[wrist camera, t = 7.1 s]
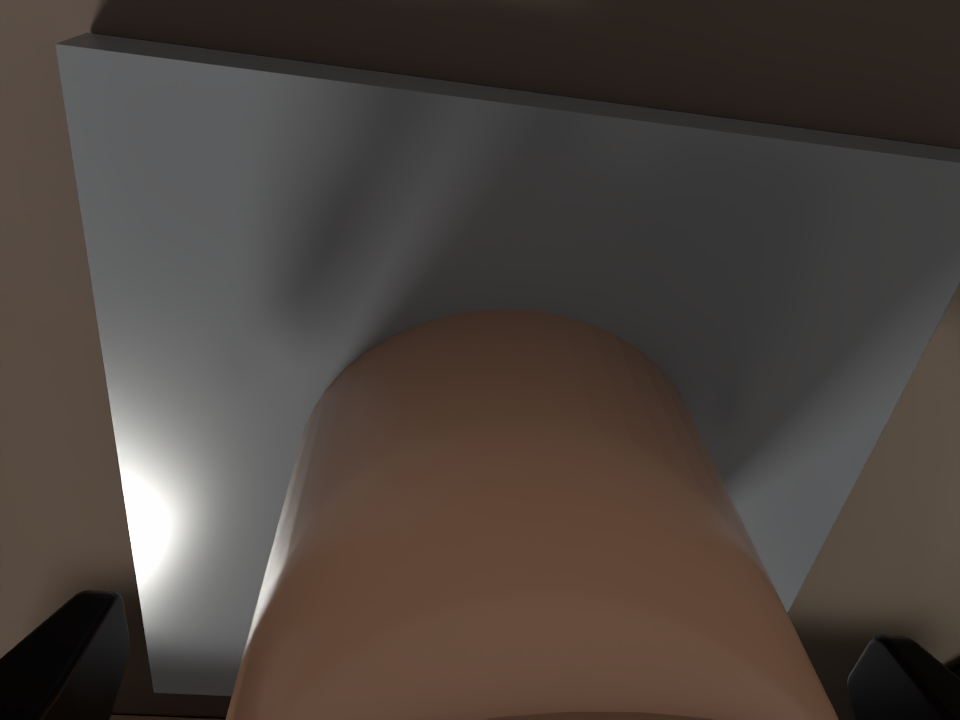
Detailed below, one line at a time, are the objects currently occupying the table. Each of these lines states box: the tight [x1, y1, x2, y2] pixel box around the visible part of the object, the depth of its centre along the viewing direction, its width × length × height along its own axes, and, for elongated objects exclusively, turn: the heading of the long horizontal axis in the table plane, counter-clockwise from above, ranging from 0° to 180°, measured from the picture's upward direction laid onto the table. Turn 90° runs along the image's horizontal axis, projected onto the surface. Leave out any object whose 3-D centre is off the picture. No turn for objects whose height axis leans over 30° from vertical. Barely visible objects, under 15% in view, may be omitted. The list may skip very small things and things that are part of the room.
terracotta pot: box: [226, 309, 839, 720], centre depth 8 cm, size 7×7×7 cm
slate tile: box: [55, 33, 960, 696], centre depth 11 cm, size 11×11×1 cm
